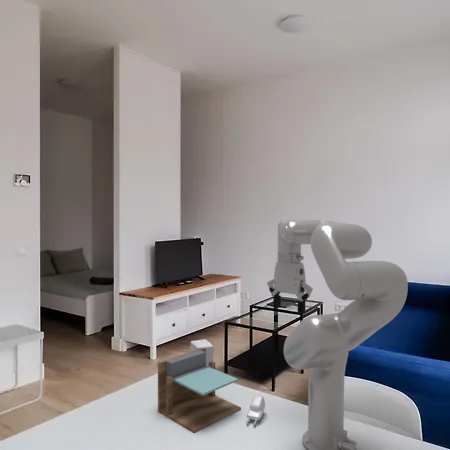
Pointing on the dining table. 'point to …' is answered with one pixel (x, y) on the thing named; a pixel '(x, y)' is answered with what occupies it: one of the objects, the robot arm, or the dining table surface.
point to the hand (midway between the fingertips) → (288, 310)
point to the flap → (197, 373)
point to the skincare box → (200, 345)
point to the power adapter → (256, 408)
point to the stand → (190, 402)
